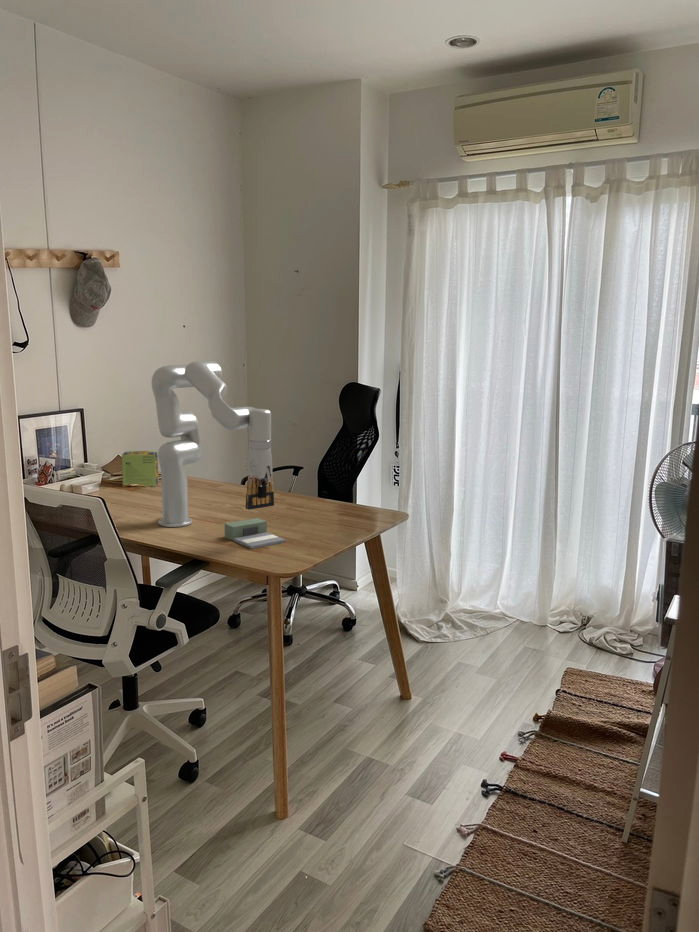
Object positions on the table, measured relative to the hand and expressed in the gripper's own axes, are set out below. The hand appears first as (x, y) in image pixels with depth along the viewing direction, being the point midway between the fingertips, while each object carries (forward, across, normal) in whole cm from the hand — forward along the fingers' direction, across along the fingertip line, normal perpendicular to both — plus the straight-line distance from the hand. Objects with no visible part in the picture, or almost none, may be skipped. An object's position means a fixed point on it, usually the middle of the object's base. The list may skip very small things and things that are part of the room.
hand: (260, 496), depth 257 cm
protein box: (+17, -111, +5) cm, 113 cm away
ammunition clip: (+4, 0, 0) cm, 4 cm away
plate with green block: (+16, -3, 0) cm, 17 cm away
